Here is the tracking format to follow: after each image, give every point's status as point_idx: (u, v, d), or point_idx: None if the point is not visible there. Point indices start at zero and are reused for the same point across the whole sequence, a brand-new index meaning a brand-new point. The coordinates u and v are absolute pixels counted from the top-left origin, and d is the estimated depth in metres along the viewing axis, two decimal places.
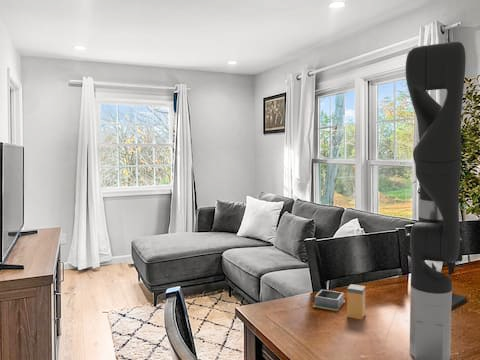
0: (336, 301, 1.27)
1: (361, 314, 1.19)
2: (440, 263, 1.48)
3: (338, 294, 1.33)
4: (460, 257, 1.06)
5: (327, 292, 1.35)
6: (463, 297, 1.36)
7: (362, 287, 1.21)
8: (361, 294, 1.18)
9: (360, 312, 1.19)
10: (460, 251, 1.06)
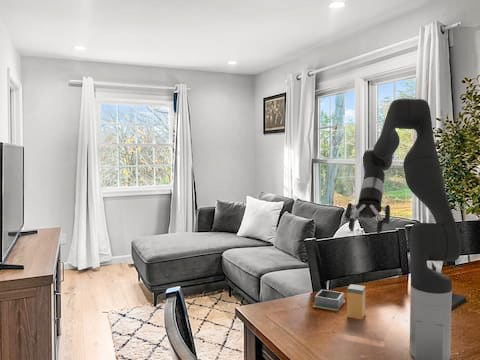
0: (336, 301, 1.27)
1: (361, 314, 1.19)
2: (440, 263, 1.48)
3: (338, 294, 1.33)
4: (387, 216, 1.30)
5: (327, 292, 1.35)
6: (462, 297, 1.37)
7: (362, 287, 1.21)
8: (361, 294, 1.18)
9: (360, 312, 1.19)
10: (388, 212, 1.31)
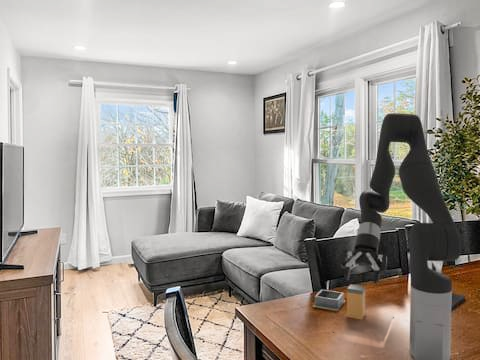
0: (336, 301, 1.27)
1: (361, 314, 1.19)
2: (440, 263, 1.48)
3: (338, 294, 1.33)
4: (384, 266, 1.26)
5: (327, 292, 1.35)
6: (462, 296, 1.37)
7: (362, 287, 1.21)
8: (361, 294, 1.18)
9: (360, 312, 1.19)
10: (384, 262, 1.27)
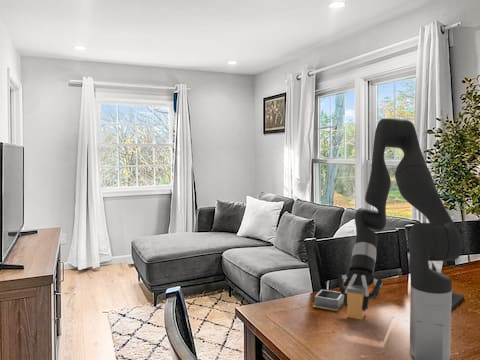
0: (336, 301, 1.27)
1: (361, 314, 1.19)
2: (440, 263, 1.48)
3: (338, 294, 1.33)
4: (373, 292, 1.20)
5: (327, 292, 1.35)
6: (461, 296, 1.38)
7: (362, 287, 1.21)
8: (361, 294, 1.18)
9: (360, 312, 1.19)
10: (376, 288, 1.20)
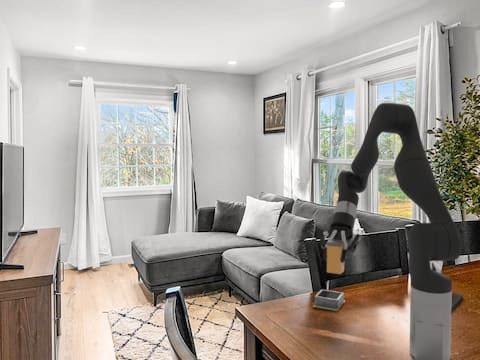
0: (336, 301, 1.27)
1: (340, 265, 1.27)
2: (440, 263, 1.48)
3: (338, 294, 1.33)
4: (352, 245, 1.28)
5: (327, 292, 1.35)
6: (459, 295, 1.38)
7: (341, 241, 1.29)
8: (340, 247, 1.26)
9: (339, 264, 1.27)
10: (354, 242, 1.28)
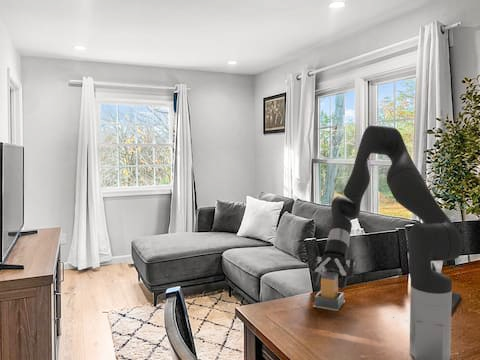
0: (336, 301, 1.27)
1: (333, 298, 1.29)
2: (440, 263, 1.48)
3: (338, 294, 1.33)
4: (351, 272, 1.29)
5: None
6: (458, 295, 1.39)
7: (334, 273, 1.31)
8: (333, 280, 1.28)
9: (332, 296, 1.29)
10: (351, 267, 1.30)
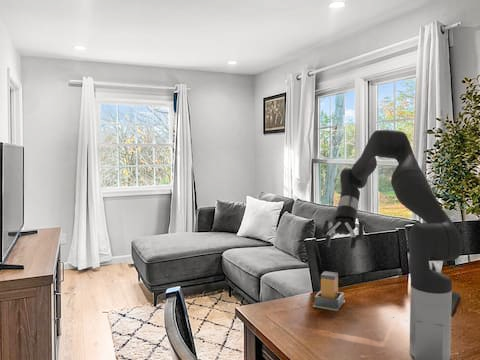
0: (336, 301, 1.27)
1: (333, 298, 1.29)
2: (440, 263, 1.48)
3: (338, 294, 1.33)
4: (360, 233, 1.40)
5: None
6: (457, 294, 1.39)
7: (334, 273, 1.31)
8: (333, 280, 1.28)
9: (332, 296, 1.29)
10: (361, 229, 1.41)
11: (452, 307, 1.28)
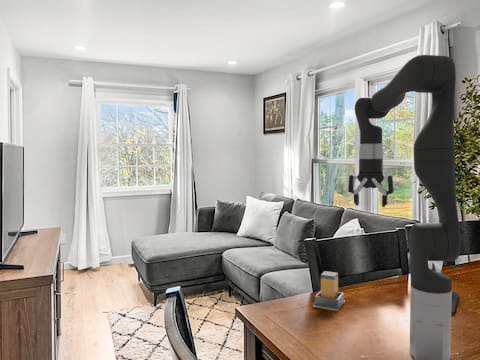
0: (336, 301, 1.27)
1: (333, 298, 1.29)
2: (440, 263, 1.48)
3: (338, 294, 1.33)
4: (391, 190, 1.29)
5: None
6: (456, 294, 1.40)
7: (334, 273, 1.31)
8: (333, 280, 1.28)
9: (332, 296, 1.29)
10: (391, 185, 1.29)
11: (453, 307, 1.28)
